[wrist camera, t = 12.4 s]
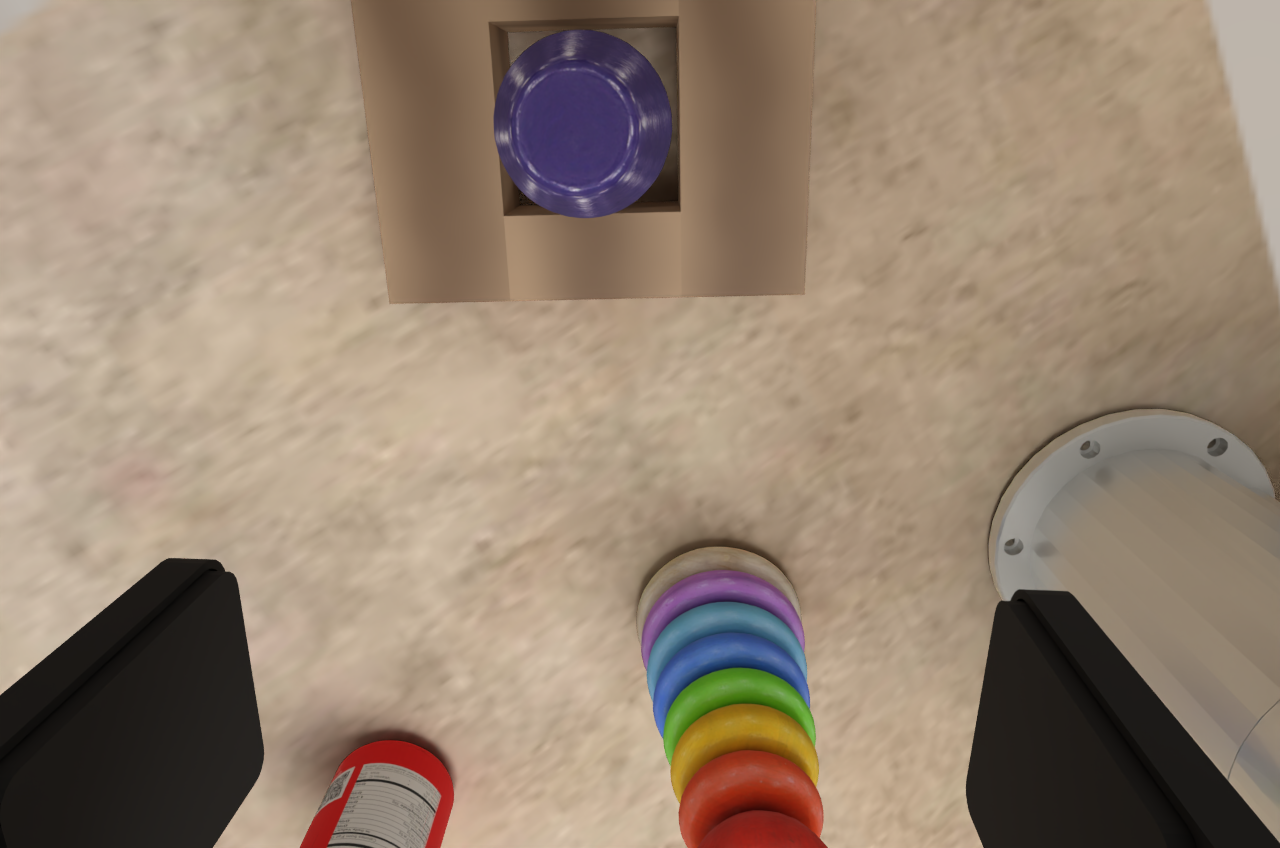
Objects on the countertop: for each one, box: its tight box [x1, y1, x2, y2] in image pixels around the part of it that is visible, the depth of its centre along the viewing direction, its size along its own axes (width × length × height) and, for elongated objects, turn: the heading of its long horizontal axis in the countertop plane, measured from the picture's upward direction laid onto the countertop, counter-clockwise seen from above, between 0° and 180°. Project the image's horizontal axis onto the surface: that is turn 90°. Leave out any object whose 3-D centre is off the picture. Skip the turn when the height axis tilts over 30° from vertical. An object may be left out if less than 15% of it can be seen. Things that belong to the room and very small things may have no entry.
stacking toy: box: [636, 547, 828, 848], centre depth 33 cm, size 8×8×19 cm
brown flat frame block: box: [351, 0, 816, 304], centre depth 33 cm, size 16×13×4 cm
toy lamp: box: [493, 30, 672, 218], centre depth 27 cm, size 5×5×17 cm
